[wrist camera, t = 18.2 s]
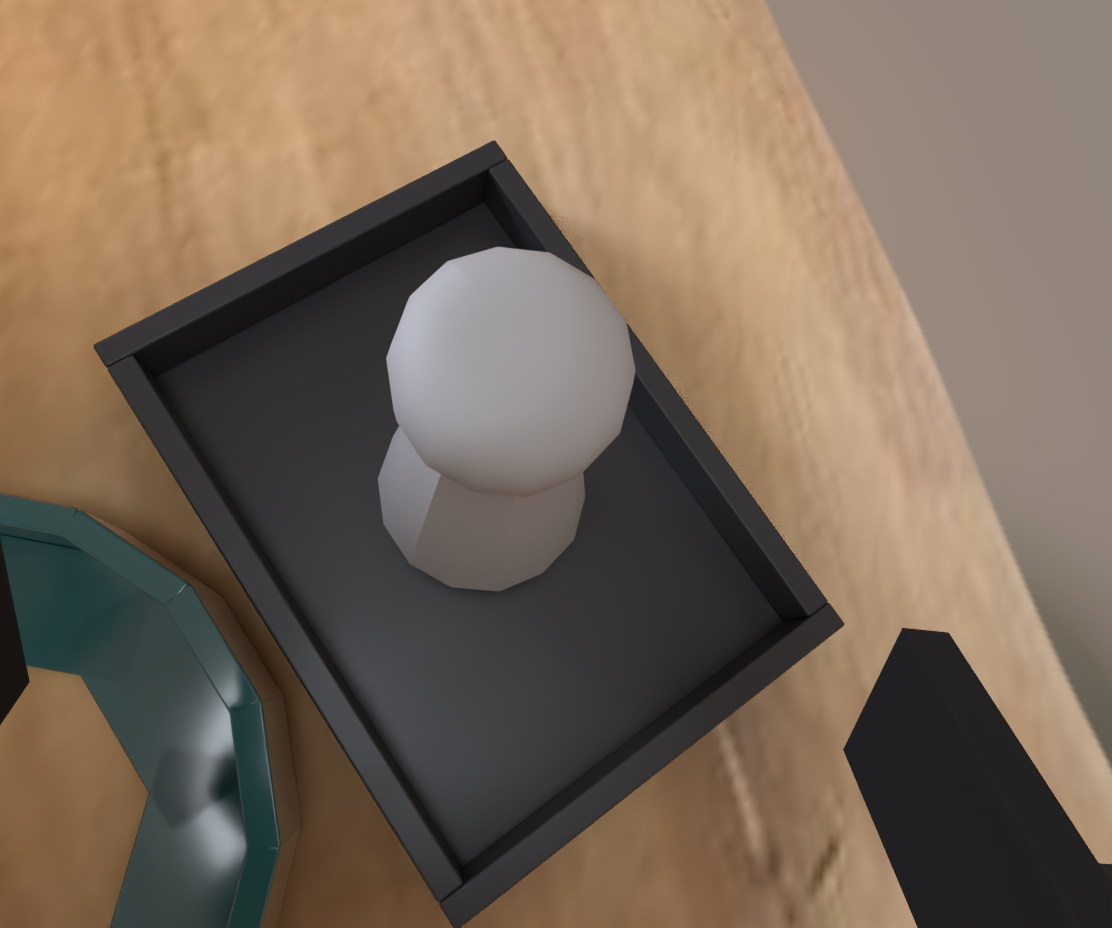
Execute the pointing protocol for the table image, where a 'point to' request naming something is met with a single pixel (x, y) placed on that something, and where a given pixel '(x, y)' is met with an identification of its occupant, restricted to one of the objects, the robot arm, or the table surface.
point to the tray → (428, 604)
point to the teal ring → (165, 714)
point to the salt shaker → (500, 414)
